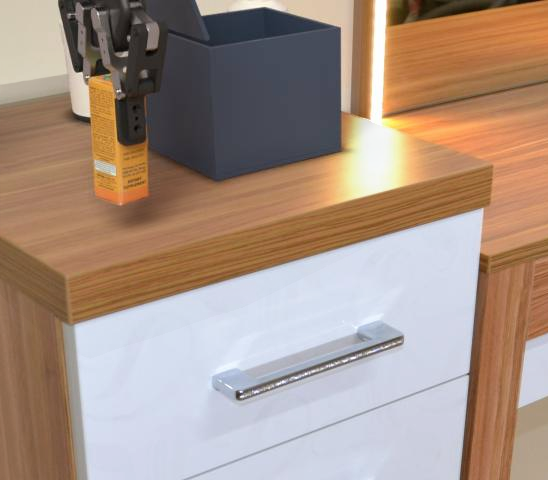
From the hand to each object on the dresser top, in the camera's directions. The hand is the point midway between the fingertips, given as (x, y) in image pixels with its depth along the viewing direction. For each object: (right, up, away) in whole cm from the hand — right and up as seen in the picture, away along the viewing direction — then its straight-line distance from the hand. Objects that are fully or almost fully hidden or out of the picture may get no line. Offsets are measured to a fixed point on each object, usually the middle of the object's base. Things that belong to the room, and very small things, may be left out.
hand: (119, 136), depth 92 cm
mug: (-8, +9, +38) cm, 40 cm away
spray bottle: (+7, +10, +40) cm, 42 cm away
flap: (+1, +15, +13) cm, 20 cm away
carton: (+7, +3, +25) cm, 27 cm away
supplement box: (0, -5, +2) cm, 5 cm away
